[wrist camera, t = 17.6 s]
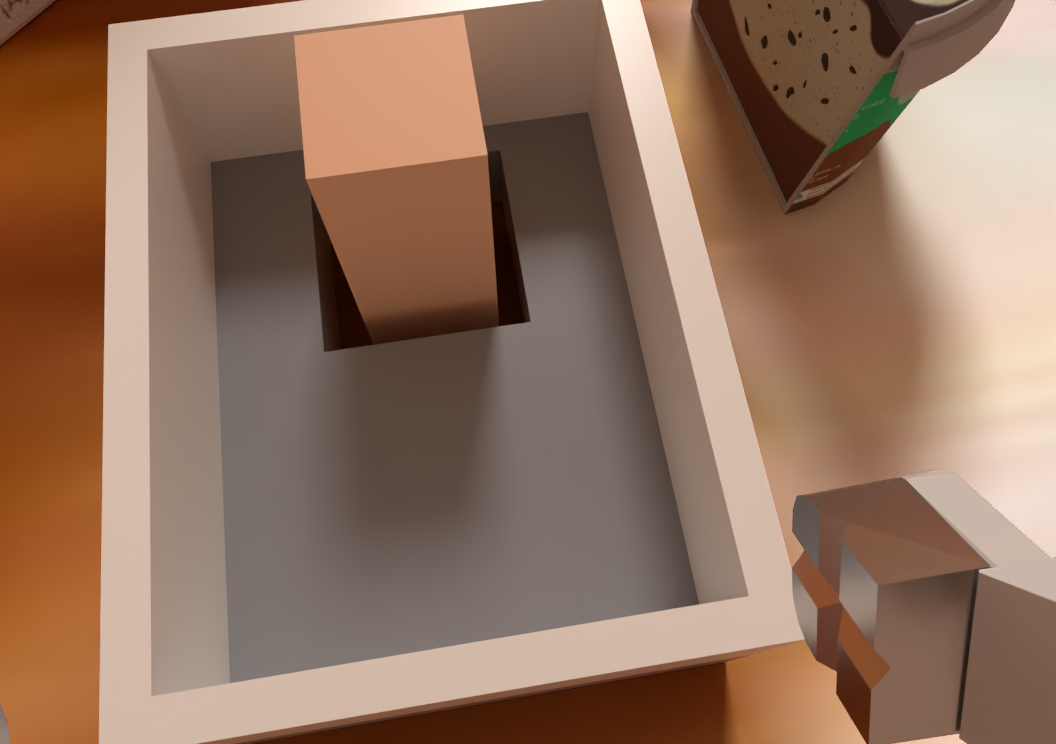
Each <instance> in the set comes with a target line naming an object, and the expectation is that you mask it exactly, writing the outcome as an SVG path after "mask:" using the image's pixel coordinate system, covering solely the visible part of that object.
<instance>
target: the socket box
mask: <svg viewBox="0 0 1056 744" xmlns="http://www.w3.org/2000/svg"><path fill="white" fill-rule="evenodd" d="M462 14H463V15H464V21H465V27H466V33H467V39H468V44H469V50H470V56H471V62H472V67H473V73H474V79H475V85H476V91H477V96H478V102H479V108H480V114H481V119H482V125H483V131H484V137H485V143H486V148H487V154H488V168H489V182H490V197H491V204H492V203H499V202H503V208H504V213H505V219H506V225H507V230H508V236H509V242H510V247H511V253H512V259H513V265H514V270H515V276H516V282H517V287H518V293H519V299H520V304H521V310H522V316H523V321H524V323H519V324H512V325H505V326H499V327H492V328H485V329H478V330H471V331H464V332H458V333H451V334H444V335H437V336H430V337H424V338H417V339H410V340H403V341H396V342H389V343H383V344H376V345H369V346H362V347H355V348H348V349H342V350H340V339H339V328H338V317H337V306H336V295H335V284H334V274H333V263H332V252H331V241H330V237H329V235H328V232H327V230H326V227H325V225H324V223H323V220H322V218H321V215H320V213H319V210H318V208H317V205H316V203H315V200H314V198H313V196H312V193H311V191H310V188H309V186H308V183H307V181H306V175H305V163H304V151H303V139H302V127H301V115H300V103H299V91H298V79H297V67H296V55H295V43H294V36H295V35H303V34H311V33H319V32H327V31H335V30H343V29H350V28H358V27H366V26H374V25H382V24H390V23H398V22H406V21H414V20H422V19H430V18H438V17H446V16H454V15H462ZM803 640H805V638H804V636H803V633H802V631H801V628H800V626H799V623H798V619H797V614H796V610H795V605H794V600H793V591H792V569H791V565H790V562H789V558H788V554H787V550H786V547H785V543H784V539H783V535H782V532H781V528H780V524H779V520H778V517H777V513H776V509H775V505H774V502H773V498H772V494H771V490H770V487H769V483H768V479H767V475H766V472H765V468H764V464H763V460H762V457H761V453H760V449H759V445H758V442H757V438H756V434H755V430H754V427H753V423H752V419H751V415H750V412H749V408H748V404H747V400H746V397H745V393H744V389H743V385H742V382H741V378H740V374H739V370H738V366H737V363H736V359H735V355H734V351H733V348H732V344H731V340H730V336H729V333H728V329H727V325H726V321H725V318H724V314H723V310H722V306H721V303H720V299H719V295H718V291H717V288H716V284H715V280H714V276H713V273H712V269H711V265H710V261H709V258H708V254H707V250H706V246H705V243H704V239H703V235H702V231H701V228H700V224H699V220H698V216H697V213H696V209H695V205H694V201H693V198H692V194H691V190H690V186H689V183H688V179H687V175H686V171H685V168H684V164H683V160H682V156H681V153H680V149H679V145H678V141H677V138H676V134H675V130H674V126H673V123H672V119H671V115H670V111H669V108H668V104H667V100H666V96H665V93H664V89H663V85H662V81H661V78H660V74H659V70H658V66H657V63H656V59H655V55H654V51H653V48H652V44H651V40H650V36H649V33H648V29H647V25H646V21H645V18H644V14H643V10H642V6H641V3H640V0H304V1H296V2H288V3H279V4H271V5H263V6H255V7H247V8H239V9H230V10H222V11H214V12H206V13H198V14H190V15H181V16H173V17H165V18H157V19H149V20H141V21H132V22H124V23H116V24H108V83H107V159H106V236H105V312H104V388H103V465H102V541H101V617H100V694H99V744H252V743H258V742H264V741H269V740H275V739H281V738H287V737H293V736H298V735H304V734H310V733H316V732H322V731H327V730H333V729H339V728H345V727H351V726H356V725H362V724H368V723H374V722H380V721H385V720H391V719H397V718H403V717H409V716H415V715H420V714H426V713H432V712H438V711H444V710H449V709H455V708H461V707H467V706H473V705H478V704H484V703H490V702H496V701H502V700H507V699H513V698H519V697H525V696H531V695H536V694H542V693H548V692H554V691H560V690H565V689H571V688H577V687H583V686H589V685H594V684H600V683H606V682H612V681H618V680H624V679H629V678H635V677H641V676H647V675H653V674H658V673H664V672H670V671H676V670H682V669H687V668H693V667H699V666H705V665H711V664H716V663H722V662H727V661H731V660H734V659H738V658H742V657H745V656H749V655H752V654H756V653H759V652H763V651H767V650H770V649H774V648H777V647H781V646H785V645H788V644H792V643H795V642H799V641H803Z"/></svg>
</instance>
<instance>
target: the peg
mask: <svg viewBox="0 0 1056 744" xmlns="http://www.w3.org/2000/svg"><path fill="white" fill-rule="evenodd" d="M294 43H295V55H296V67H297V79H298V91H299V103H300V115H301V127H302V139H303V151H304V163H305V175H306V181H307V183H308V186H309V188H310V191H311V193H312V196H313V198H314V200H315V203H316V205H317V208H318V210H319V213H320V215H321V218H322V220H323V223H324V225H325V227H326V230H327V232H328V235H329V237H330V240H331V242H332V245H333V247H334V249H335V252H336V254H337V257H338V259H339V262H340V264H341V267H342V269H343V271H344V274H345V276H346V279H347V281H348V284H349V286H350V289H351V291H352V293H353V296H354V298H355V301H356V303H357V306H358V308H359V311H360V313H361V315H362V318H363V320H364V323H365V325H366V328H367V330H368V333H369V335H370V338H371V340H372V342H373V345H376V344H383V343H389V342H396V341H403V340H410V339H417V338H424V337H430V336H437V335H444V334H451V333H458V332H464V331H471V330H478V329H485V328H492V327H499V314H498V299H497V285H496V270H495V256H494V241H493V226H492V212H491V197H490V182H489V168H488V154H487V148H486V143H485V137H484V131H483V125H482V119H481V114H480V108H479V102H478V96H477V91H476V85H475V79H474V73H473V67H472V62H471V56H470V50H469V44H468V39H467V33H466V27H465V21H464V15H463V14H462V15H454V16H446V17H438V18H430V19H422V20H414V21H406V22H398V23H390V24H382V25H374V26H366V27H358V28H350V29H343V30H335V31H327V32H319V33H311V34H303V35H295V36H294Z"/></svg>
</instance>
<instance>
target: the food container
mask: <svg viewBox="0 0 1056 744" xmlns="http://www.w3.org/2000/svg"><path fill="white" fill-rule="evenodd" d="M1014 2H1015V0H693V2H692V8H691V12H692V14H693V16H694V19H695V21H696V23H697V25H698V27H699V29H700V32H701V34H702V36H703V38H704V40H705V42H706V45H707V47H708V49H709V51H710V53H711V55H712V58H713V60H714V62H715V64H716V66H717V68H718V71H719V73H720V75H721V77H722V79H723V81H724V84H725V86H726V88H727V90H728V92H729V95H730V97H731V99H732V101H733V103H734V105H735V108H736V110H737V112H738V114H739V116H740V118H741V121H742V123H743V125H744V127H745V129H746V131H747V134H748V136H749V138H750V140H751V142H752V144H753V147H754V149H755V151H756V153H757V155H758V157H759V160H760V162H761V164H762V166H763V168H764V170H765V173H766V175H767V177H768V179H769V181H770V183H771V186H772V188H773V190H774V192H775V194H776V197H777V199H778V201H779V203H780V205H781V207H782V210H783V212H784V214H788V213H791V212H794V211H796V210H799V209H802V208H805V207H808V206H811V205H813V204H815V203H817V202H818V201H820V200H821V199H822V198H824V197H825V196H826V195H828V194H829V193H831V192H832V191H833V190H835V189H836V188H838V187H839V186H840V185H842V184H843V183H845V182H846V181H847V180H848V178H849V177H850V176H851V175H852V173H853V172H854V171H855V170H856V169H857V167H858V166H859V165H860V164H861V162H862V161H863V160H864V159H865V157H866V156H867V155H868V154H869V152H870V151H871V150H872V149H873V147H874V146H875V145H876V144H877V142H878V141H879V140H880V139H881V138H882V136H883V135H884V134H885V133H886V131H887V130H888V129H889V128H890V126H891V125H892V124H893V123H894V121H895V120H896V119H897V118H898V116H899V115H900V114H901V113H902V111H903V110H904V109H905V108H906V106H907V105H908V104H909V103H910V102H911V100H912V99H913V98H914V97H915V95H916V94H917V93H918V92H919V90H920V89H922V88H925V87H927V86H929V85H931V84H933V83H935V82H936V81H938V80H940V79H942V78H944V77H946V76H948V75H950V74H952V73H954V72H955V71H956V70H958V69H959V68H960V67H962V66H963V65H964V64H966V63H967V62H968V61H970V60H971V59H972V58H974V57H975V56H976V55H977V54H979V53H980V52H981V50H982V49H983V48H984V47H985V46H986V45H987V44H988V43H989V42H990V40H991V39H992V38H993V37H994V36H995V35H996V34H997V33H998V31H999V30H1000V28H1001V26H1002V24H1003V23H1004V21H1005V19H1006V18H1007V16H1008V14H1009V12H1010V11H1011V9H1012V7H1013V4H1014Z"/></svg>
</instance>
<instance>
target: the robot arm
mask: <svg viewBox="0 0 1056 744" xmlns="http://www.w3.org/2000/svg"><path fill="white" fill-rule="evenodd" d="M792 532H793V533H794V535H795V536H796V538H797V539H798V541H799V542H800V544H801V545H802V546H803V548H804V549H805V551H804V552H803V554H802V555H801V556H800V558H799V559H798V560H797V562H796V563H795V565H794V566H793V567H792V591H793V600H794V605H795V610H796V614H797V619H798V623H799V626H800V628H801V631H802V633H803V636H804V638H805V641H806V643H807V645H808V646H809V648H810V650H811V652H812V653H813V655H814V657H815V659H816V660H817V661H818V662H820V663H822V664H824V665H826V666H828V667H829V668H831V669H833V670H835V671H837V687H836V694H837V696H838V697H839V699H840V701H841V702H842V704H843V706H844V707H845V709H846V711H847V712H848V714H849V716H850V717H851V719H852V720H853V722H854V724H855V725H856V727H857V729H858V730H859V732H860V734H861V735H862V737H863V739H864V740H865V742H866V744H892V743H899V742H906V741H912V740H919V739H926V738H932V737H939V736H946V735H952V734H959V733H960V735H959V738H960V739H961V740H963V741H964V742H966V743H967V744H1056V557H1055V558H1051V557H1049V556H1048V555H1047V554H1046V553H1045V552H1044V551H1043V550H1042V549H1040V548H1039V547H1038V546H1037V545H1036V544H1035V543H1034V542H1033V541H1031V540H1030V539H1029V538H1028V537H1027V536H1026V535H1025V534H1024V533H1022V532H1021V531H1020V530H1019V529H1018V528H1017V527H1016V526H1015V525H1013V524H1012V523H1011V522H1010V521H1009V520H1008V519H1007V518H1005V517H1004V516H1003V515H1002V514H1001V513H1000V512H999V511H998V510H996V509H995V508H994V507H993V506H992V505H991V504H990V503H989V502H987V501H986V500H985V499H984V498H983V497H982V496H981V495H980V494H978V493H977V492H976V491H975V490H974V489H973V488H972V487H971V486H969V485H968V484H967V483H966V482H965V481H964V480H963V479H962V478H960V477H959V476H958V475H957V474H956V473H955V472H952V471H949V470H946V469H943V468H940V469H935V470H930V471H925V472H920V473H915V474H910V475H905V476H900V477H894V478H893V479H889V480H883V481H878V482H872V483H866V484H861V485H855V486H849V487H844V488H838V489H833V490H827V491H821V492H816V493H810V494H805V495H799V496H797V497H796V500H795V504H794V508H793V524H792ZM0 744H11V743H10V736H9V730H8V724H7V719H6V717H5V715H4V712H3V710H2V708H1V706H0Z"/></svg>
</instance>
